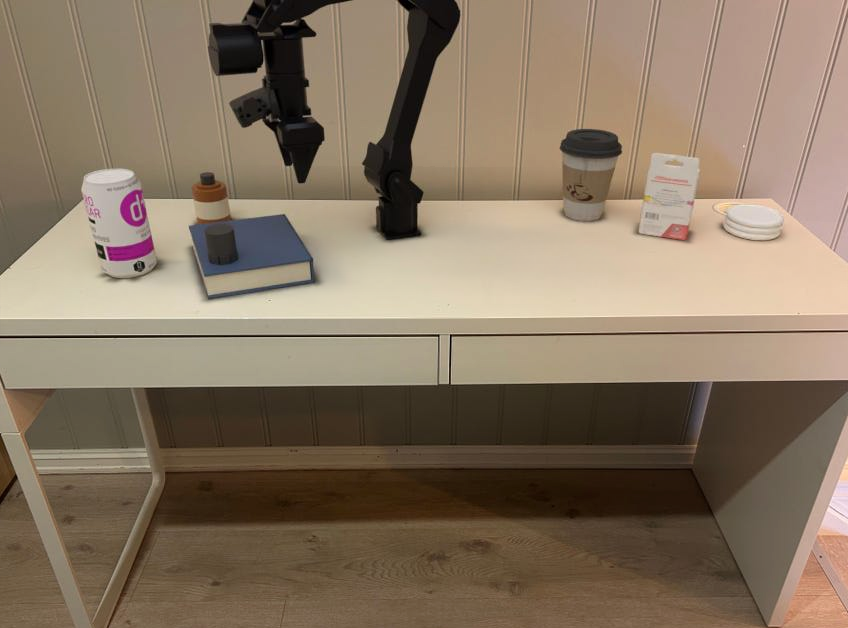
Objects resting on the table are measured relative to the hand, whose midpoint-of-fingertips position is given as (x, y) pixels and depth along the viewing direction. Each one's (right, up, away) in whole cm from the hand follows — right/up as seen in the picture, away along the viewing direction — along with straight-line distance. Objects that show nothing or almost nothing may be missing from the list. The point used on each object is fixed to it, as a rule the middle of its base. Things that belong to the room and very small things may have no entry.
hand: (294, 174), depth 116 cm
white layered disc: (+80, -6, +18) cm, 83 cm away
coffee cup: (+50, -2, +24) cm, 56 cm away
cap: (-9, -14, -6) cm, 18 cm away
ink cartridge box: (+64, -7, +17) cm, 66 cm away
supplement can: (-26, -15, -1) cm, 30 cm away
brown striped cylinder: (-18, -5, +16) cm, 25 cm away
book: (-7, -14, +2) cm, 16 cm away
